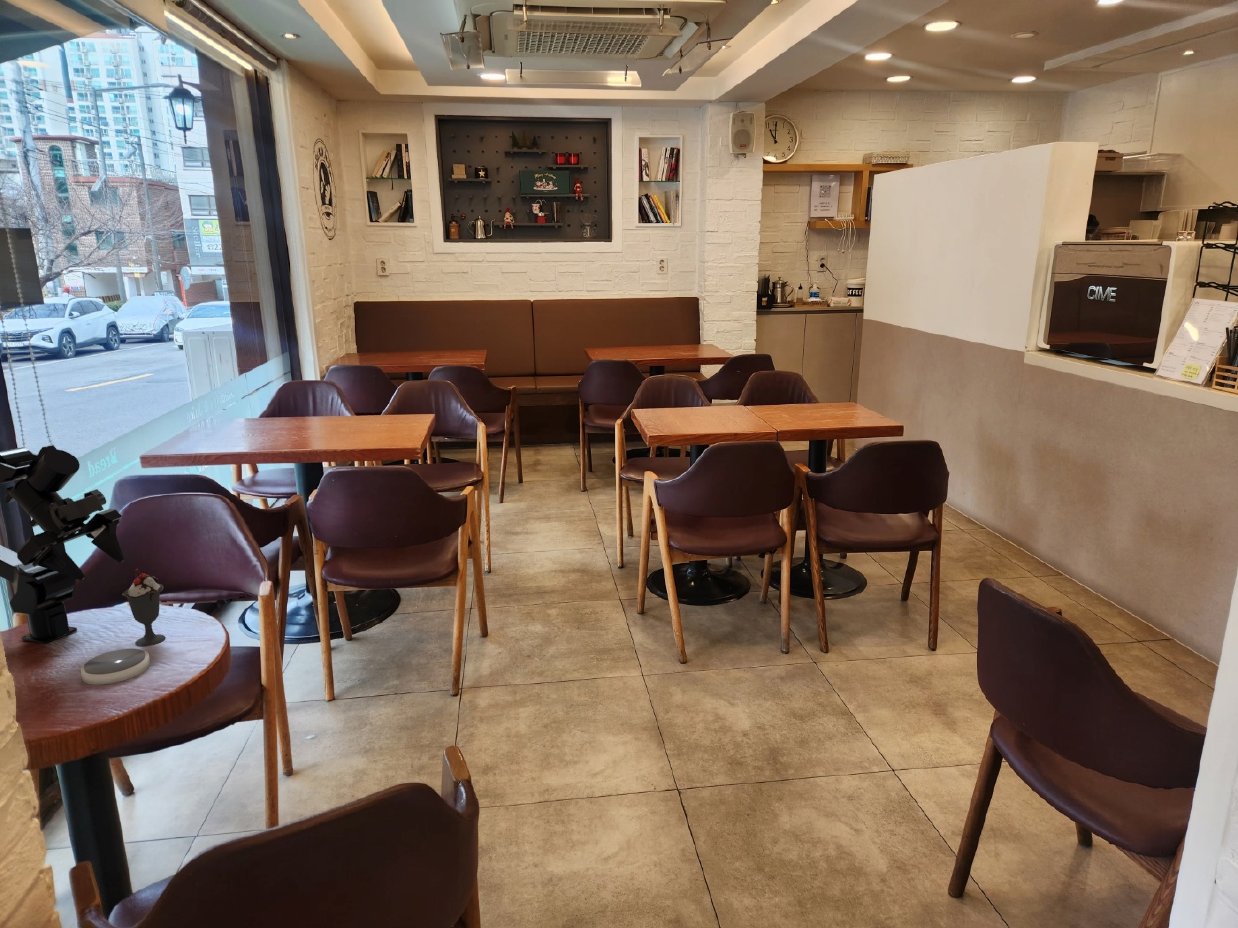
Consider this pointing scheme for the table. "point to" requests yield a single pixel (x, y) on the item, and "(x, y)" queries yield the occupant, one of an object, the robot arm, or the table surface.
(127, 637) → the table surface
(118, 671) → the round mirror
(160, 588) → the sundae
